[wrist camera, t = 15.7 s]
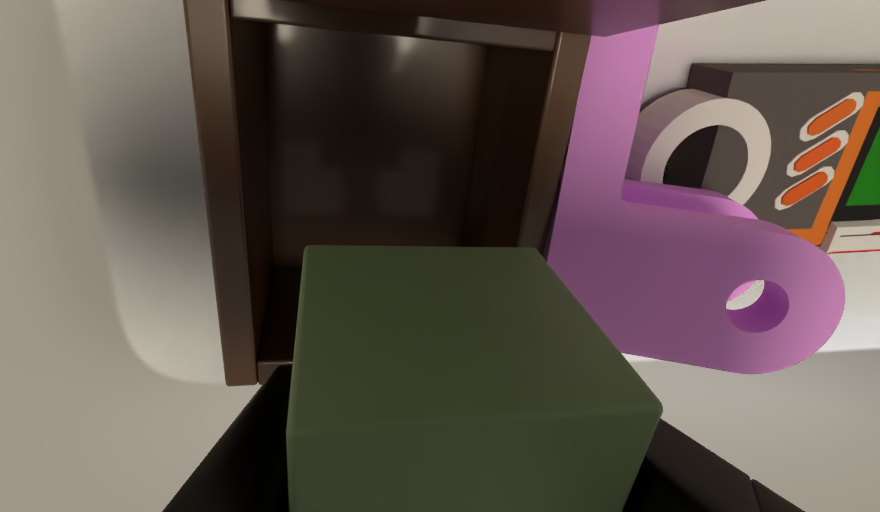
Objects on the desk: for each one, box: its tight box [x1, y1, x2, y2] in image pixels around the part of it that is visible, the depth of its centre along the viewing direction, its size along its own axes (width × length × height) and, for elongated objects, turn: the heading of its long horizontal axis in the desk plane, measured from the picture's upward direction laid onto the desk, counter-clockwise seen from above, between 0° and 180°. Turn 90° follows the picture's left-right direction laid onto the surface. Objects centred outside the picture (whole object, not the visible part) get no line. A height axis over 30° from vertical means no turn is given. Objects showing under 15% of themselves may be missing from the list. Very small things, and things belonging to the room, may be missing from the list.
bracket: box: [543, 25, 845, 374], centre depth 13 cm, size 13×6×7 cm
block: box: [286, 245, 663, 512], centre depth 8 cm, size 4×4×4 cm
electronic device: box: [624, 64, 880, 254], centre depth 19 cm, size 7×3×15 cm
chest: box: [183, 0, 591, 386], centre depth 14 cm, size 10×8×6 cm
